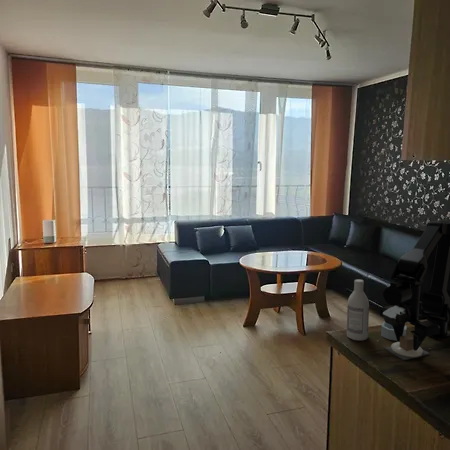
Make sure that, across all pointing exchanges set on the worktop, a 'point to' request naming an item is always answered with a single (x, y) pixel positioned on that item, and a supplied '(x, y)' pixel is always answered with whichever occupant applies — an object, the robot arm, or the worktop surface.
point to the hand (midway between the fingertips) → (407, 345)
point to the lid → (406, 347)
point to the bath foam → (358, 313)
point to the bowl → (389, 331)
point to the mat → (404, 356)
